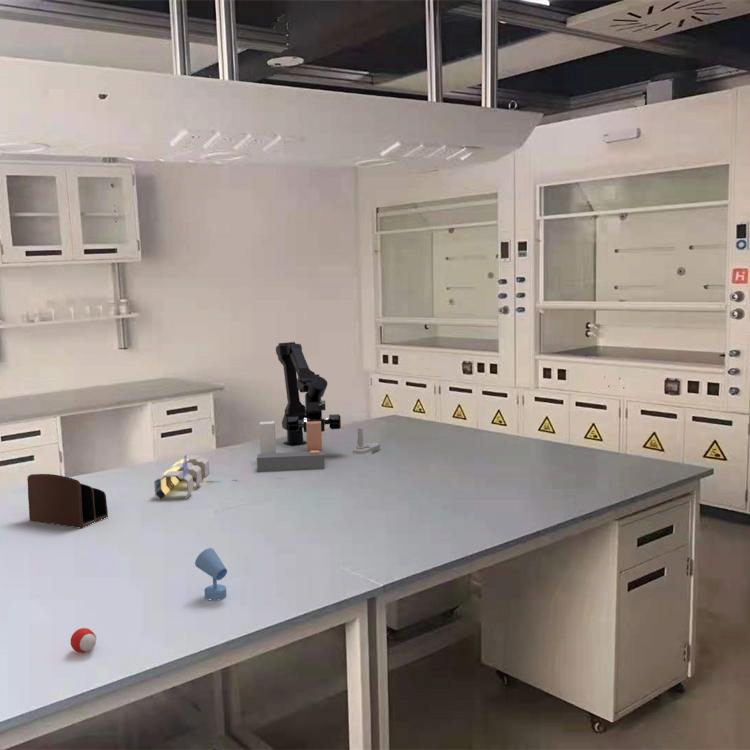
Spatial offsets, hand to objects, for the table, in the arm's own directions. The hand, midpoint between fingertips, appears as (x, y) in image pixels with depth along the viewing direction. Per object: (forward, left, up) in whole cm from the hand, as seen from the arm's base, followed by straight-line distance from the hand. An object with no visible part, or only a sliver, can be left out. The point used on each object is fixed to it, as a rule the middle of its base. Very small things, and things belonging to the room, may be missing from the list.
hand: (314, 443), depth 274 cm
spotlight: (+76, -78, -8) cm, 109 cm away
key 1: (-10, -13, -6) cm, 17 cm away
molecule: (+82, -107, -8) cm, 135 cm away
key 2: (+2, -1, -6) cm, 7 cm away
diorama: (-6, -46, -8) cm, 47 cm away
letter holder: (0, -84, -8) cm, 84 cm away
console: (-2, -8, -8) cm, 11 cm away
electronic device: (-1, +24, -8) cm, 25 cm away
